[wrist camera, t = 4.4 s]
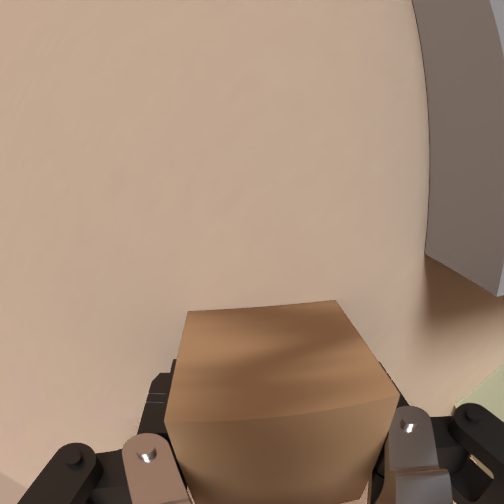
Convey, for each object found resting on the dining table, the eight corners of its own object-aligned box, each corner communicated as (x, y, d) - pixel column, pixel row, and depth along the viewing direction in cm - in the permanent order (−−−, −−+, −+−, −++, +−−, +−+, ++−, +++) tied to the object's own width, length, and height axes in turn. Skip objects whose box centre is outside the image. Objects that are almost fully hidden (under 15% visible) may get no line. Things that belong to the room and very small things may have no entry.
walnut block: (335, 300, 11) (400, 394, 6) (325, 404, 12) (360, 498, 7) (188, 311, 10) (164, 421, 6) (206, 415, 12) (201, 517, 7)
